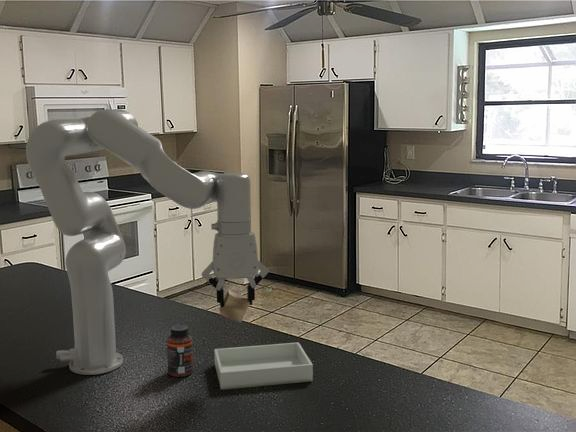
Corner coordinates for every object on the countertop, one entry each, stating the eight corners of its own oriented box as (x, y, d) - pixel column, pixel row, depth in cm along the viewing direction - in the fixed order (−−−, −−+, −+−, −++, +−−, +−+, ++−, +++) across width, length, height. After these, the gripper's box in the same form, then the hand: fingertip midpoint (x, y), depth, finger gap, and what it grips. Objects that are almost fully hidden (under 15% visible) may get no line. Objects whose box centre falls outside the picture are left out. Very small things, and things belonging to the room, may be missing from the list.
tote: (220, 389, 138) (220, 372, 138) (214, 364, 152) (214, 349, 151) (312, 381, 143) (312, 364, 142) (298, 357, 156) (298, 342, 156)
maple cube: (220, 315, 140) (229, 295, 140) (219, 308, 145) (227, 289, 144) (240, 323, 141) (249, 303, 141) (238, 316, 146) (247, 297, 146)
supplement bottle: (188, 379, 144) (186, 332, 142) (163, 377, 145) (162, 331, 143) (196, 368, 149) (195, 324, 148) (173, 366, 151) (172, 322, 149)
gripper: (197, 232, 135) (199, 312, 138) (274, 229, 138) (275, 306, 141) (195, 226, 142) (197, 302, 145) (268, 223, 145) (269, 297, 148)
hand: (235, 303), depth 143 cm, fingers closed on maple cube, 5 cm apart
